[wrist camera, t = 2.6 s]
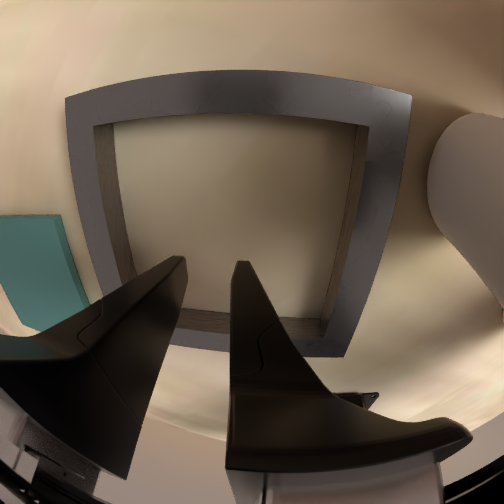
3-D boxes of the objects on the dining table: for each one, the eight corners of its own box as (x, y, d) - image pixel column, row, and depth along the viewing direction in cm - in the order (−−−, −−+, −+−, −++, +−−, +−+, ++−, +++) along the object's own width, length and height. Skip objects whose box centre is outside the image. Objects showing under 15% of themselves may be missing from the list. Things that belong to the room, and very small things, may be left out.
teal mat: (109, 347, 18) (106, 353, 17) (25, 320, 18) (22, 324, 18) (60, 214, 12) (53, 219, 11) (-19, 216, 13) (-24, 220, 12)
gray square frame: (339, 337, 15) (343, 357, 14) (128, 317, 15) (118, 334, 14) (394, 94, 8) (411, 95, 7) (85, 95, 9) (65, 98, 7)
